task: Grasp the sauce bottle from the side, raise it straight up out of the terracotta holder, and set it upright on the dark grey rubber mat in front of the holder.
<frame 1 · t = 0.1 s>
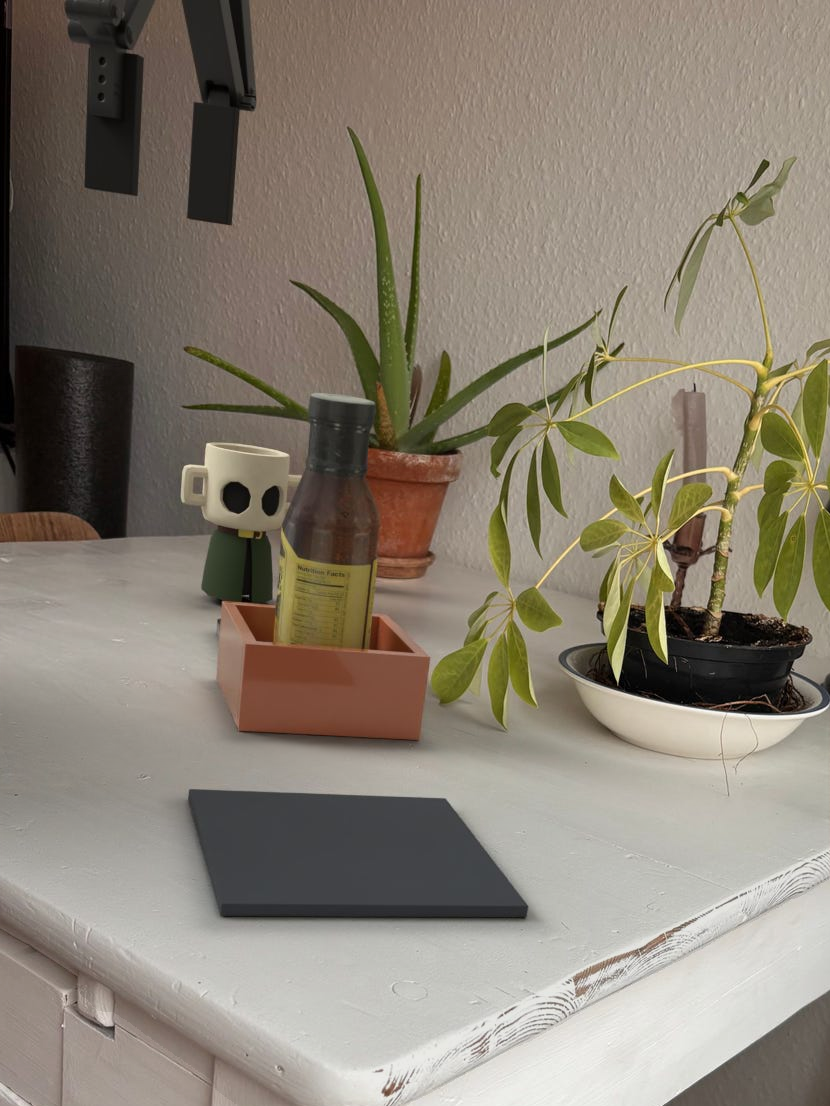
hand: (164, 209, 75), 29 cm above the table, tool pointing down, fingers open, 13 cm apart
phone: (281, 661, 97), on the table, touching holder
holder: (314, 708, 86), on the table
white red box: (321, 585, 127), on the table
character mug: (236, 603, 113), on the table
sauce bottle: (313, 711, 86), resting in holder
mat: (347, 855, 63), on the table
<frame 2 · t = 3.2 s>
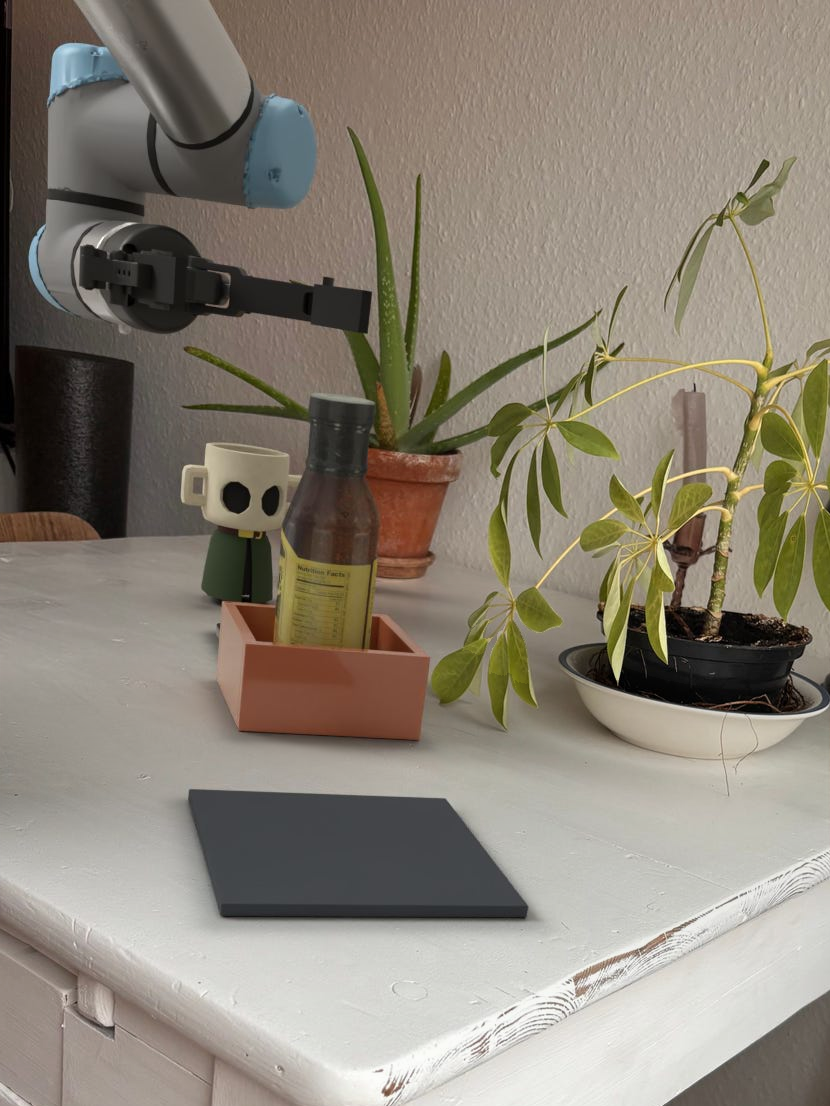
hand: (277, 297, 84), 25 cm above the table, tool horizontal, fingers open, 13 cm apart
phone: (281, 665, 97), on the table
everything else where it was.
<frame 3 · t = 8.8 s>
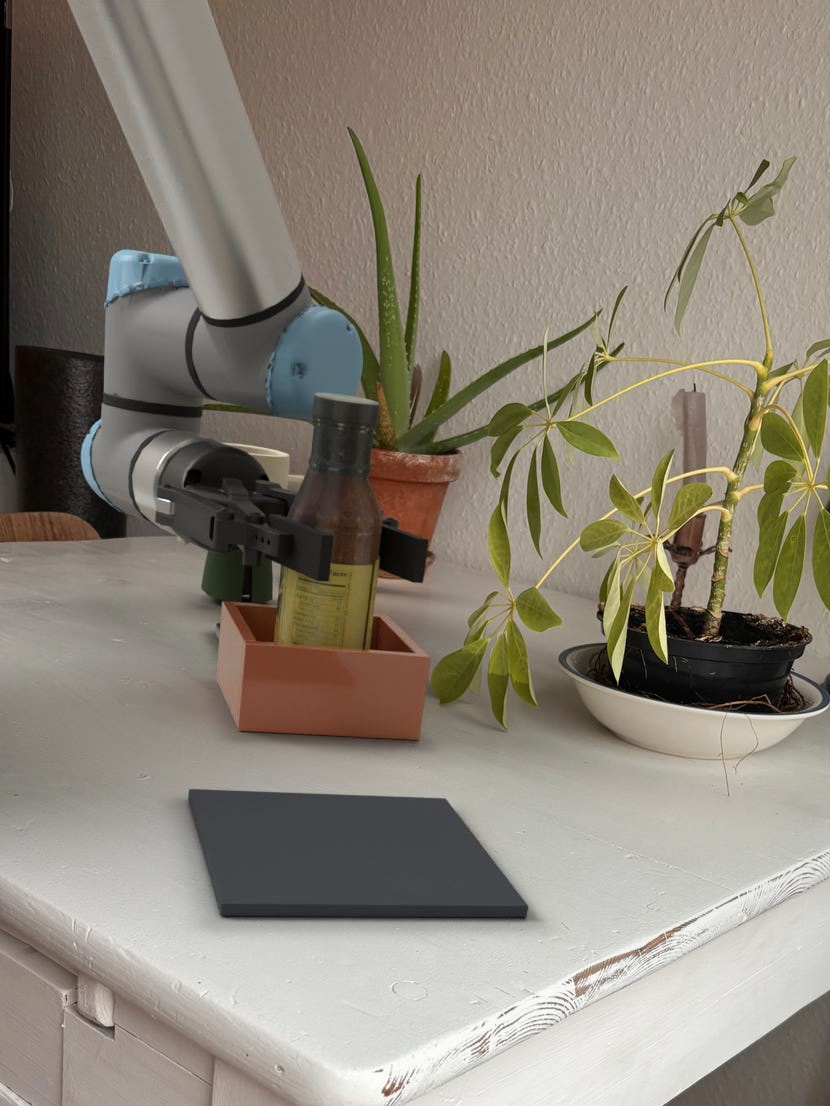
hand: (374, 559, 78), 11 cm above the table, tool horizontal, fingers closed on sauce bottle, 6 cm apart
sauce bottle: (313, 711, 86), resting in holder, touching gripper
everything else where it was.
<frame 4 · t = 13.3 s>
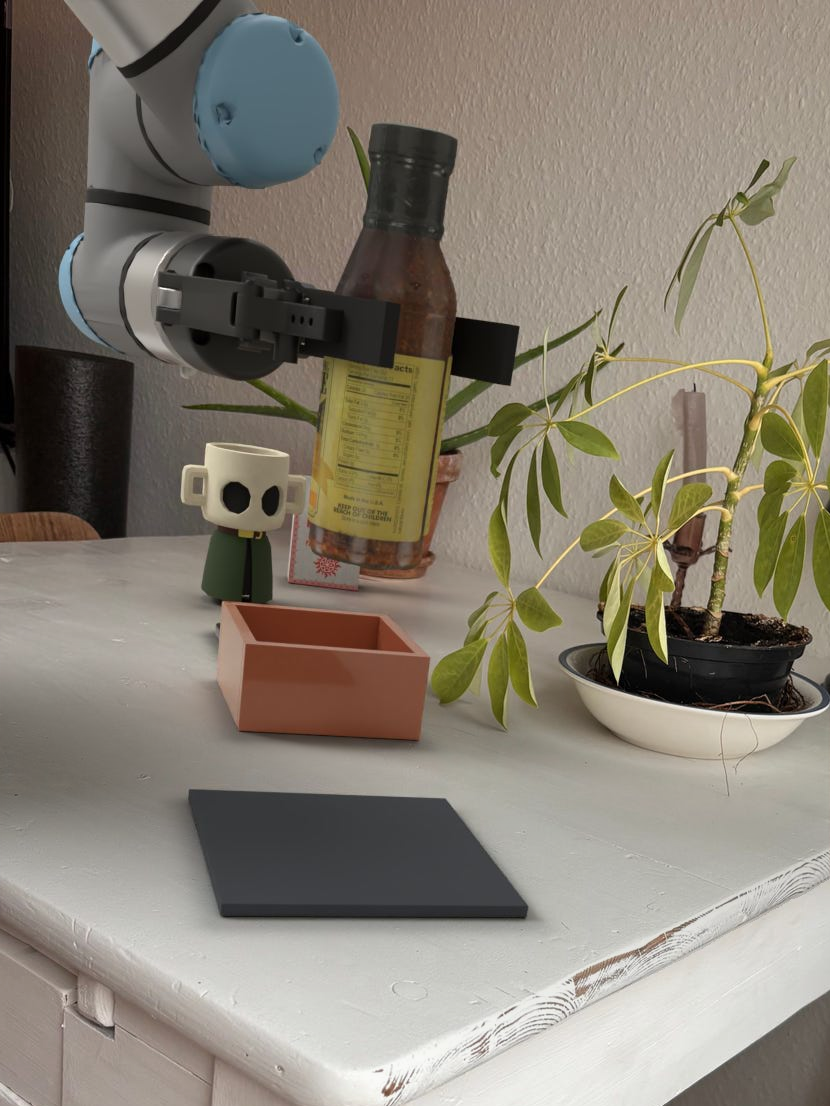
hand: (451, 345, 59), 24 cm above the table, tool horizontal, fingers closed on sauce bottle, 6 cm apart
sauce bottle: (361, 565, 67), point 13 cm above the table, touching gripper
everything else where it was.
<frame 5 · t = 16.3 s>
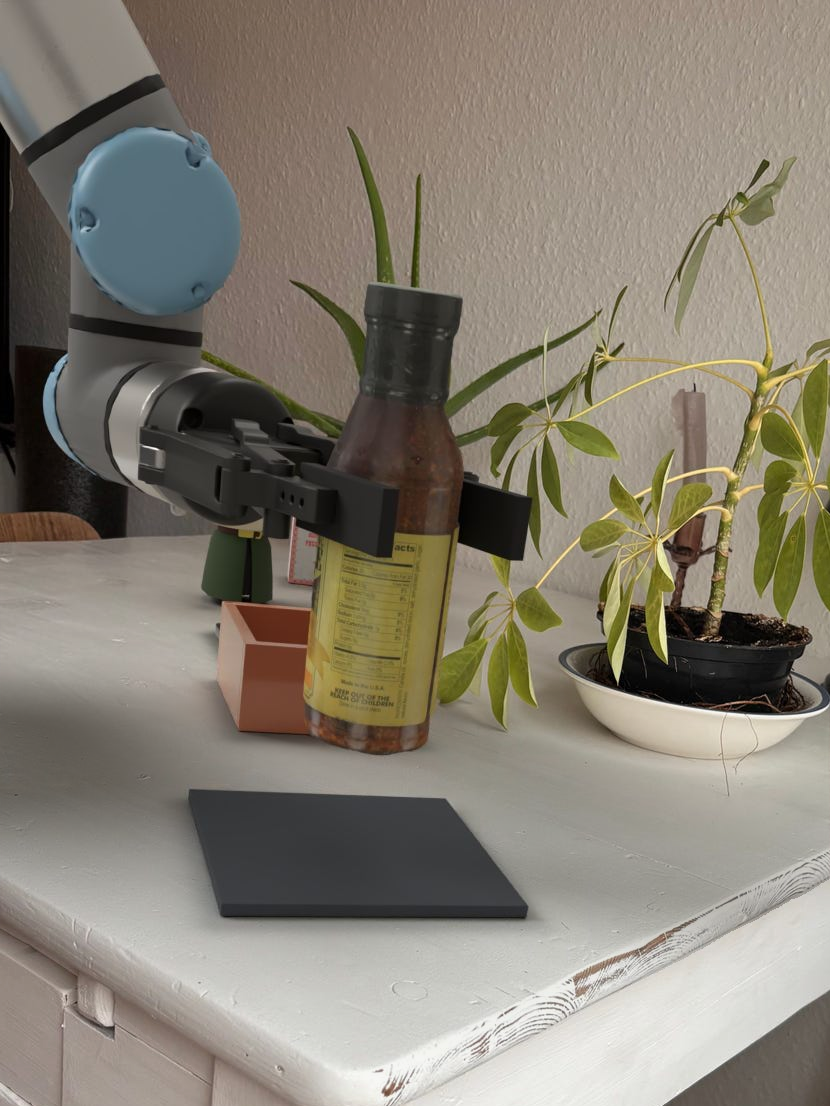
hand: (456, 526, 53), 17 cm above the table, tool horizontal, fingers closed on sauce bottle, 6 cm apart
sauce bottle: (362, 743, 61), point 6 cm above the table, touching gripper
everything else where it was.
when the fingers open (12 cm above the table, at t = 18.2 s): sauce bottle stays where it is, resting on mat.
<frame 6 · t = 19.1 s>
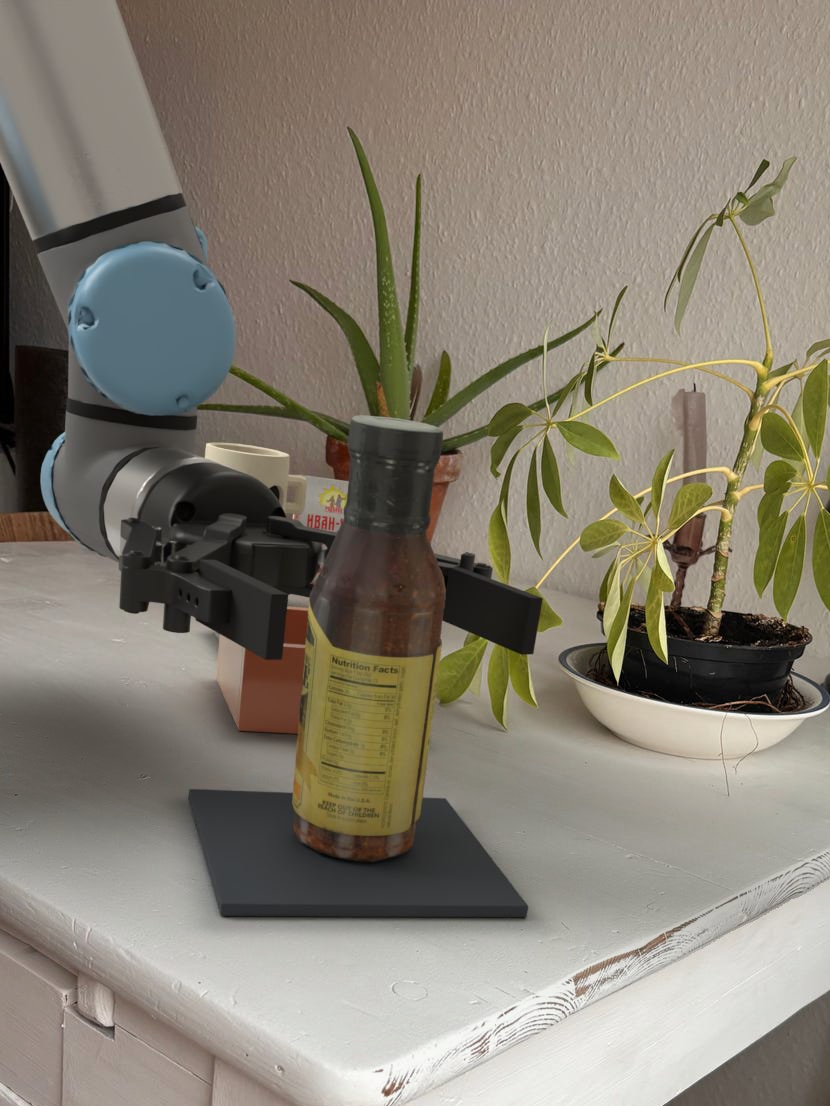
hand: (414, 627, 56), 12 cm above the table, tool horizontal, fingers open, 13 cm apart
sauce bottle: (350, 847, 63), resting on mat
everything else where it was.
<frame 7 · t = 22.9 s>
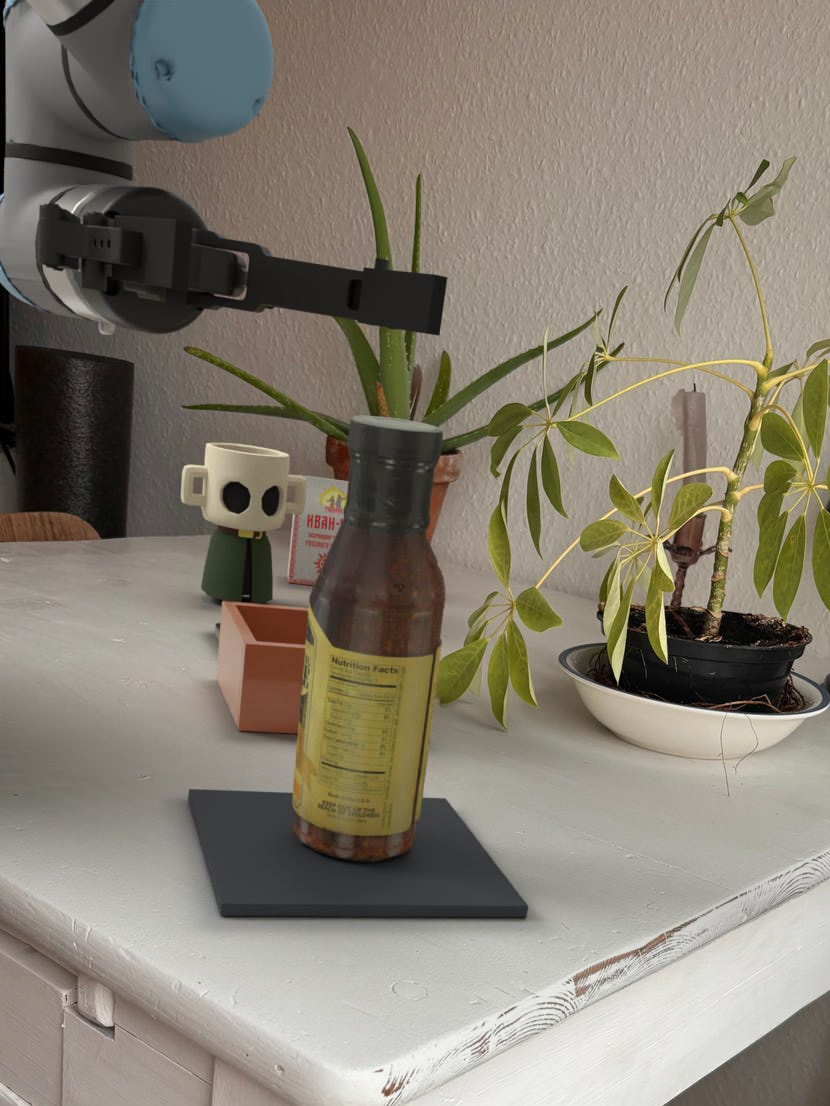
hand: (319, 282, 59), 26 cm above the table, tool horizontal, fingers open, 13 cm apart
nothing on the table moved.
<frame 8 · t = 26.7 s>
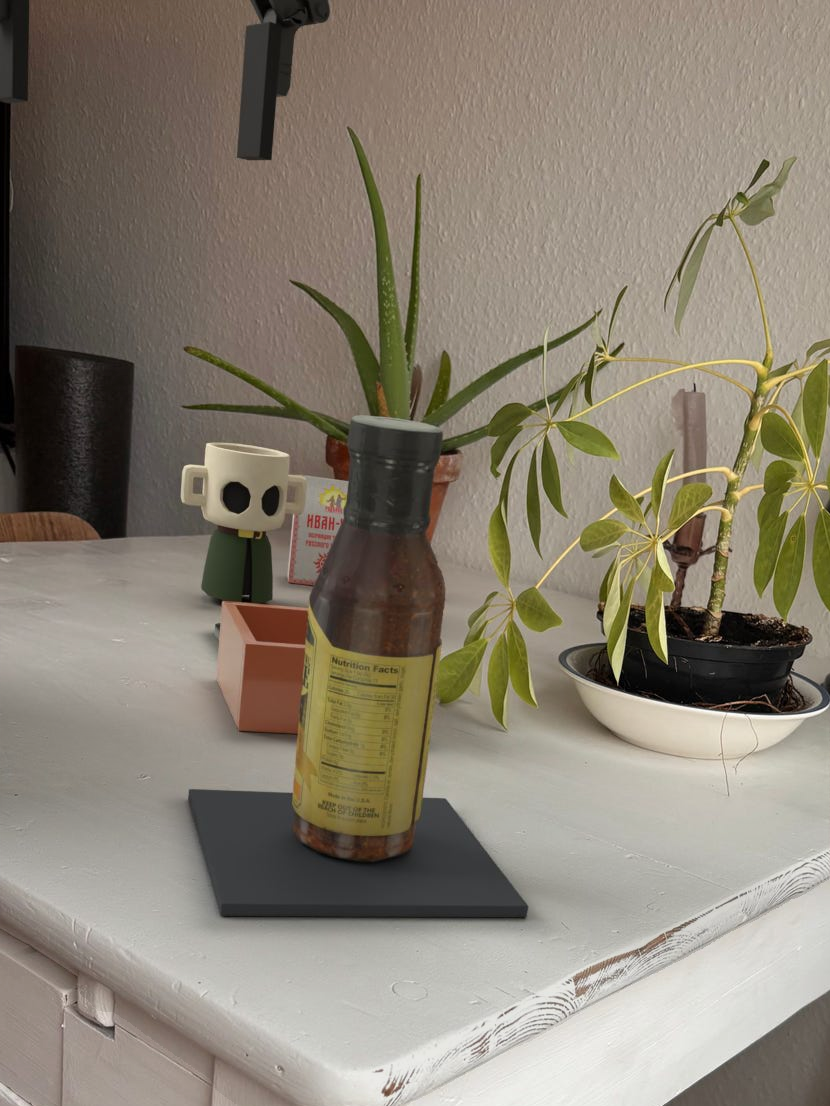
hand: (139, 132, 68), 32 cm above the table, tool pointing down, fingers open, 13 cm apart
nothing on the table moved.
at the end: sauce bottle inside the target area on the mat (0.1 cm from its centre), point 0.4 cm above the mat's base; sauce bottle tilted 0°; sauce bottle touching mat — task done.
